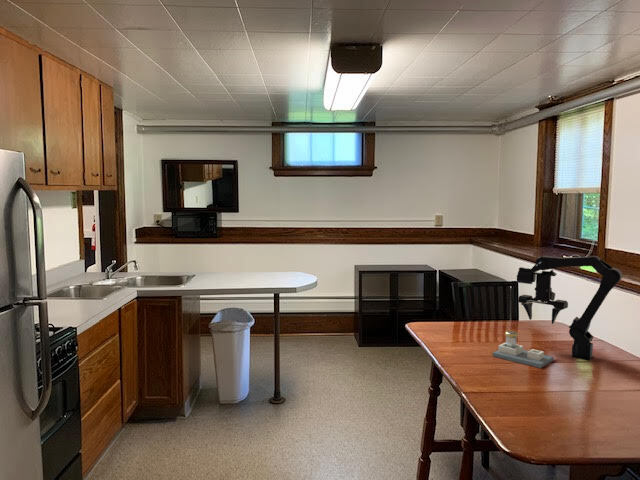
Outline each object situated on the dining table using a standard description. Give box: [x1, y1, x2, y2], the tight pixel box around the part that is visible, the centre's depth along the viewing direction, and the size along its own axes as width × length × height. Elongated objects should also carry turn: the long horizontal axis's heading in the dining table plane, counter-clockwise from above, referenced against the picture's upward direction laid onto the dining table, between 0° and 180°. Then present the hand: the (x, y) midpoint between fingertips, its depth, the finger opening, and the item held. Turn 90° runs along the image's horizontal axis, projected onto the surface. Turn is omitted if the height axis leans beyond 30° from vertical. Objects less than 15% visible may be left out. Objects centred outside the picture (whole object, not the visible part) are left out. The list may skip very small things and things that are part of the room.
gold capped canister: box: [504, 330, 519, 349], centre depth 194 cm, size 5×5×8 cm
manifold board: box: [492, 341, 554, 369], centre depth 191 cm, size 19×13×4 cm
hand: (541, 321), depth 203 cm, fingers open, 9 cm apart
